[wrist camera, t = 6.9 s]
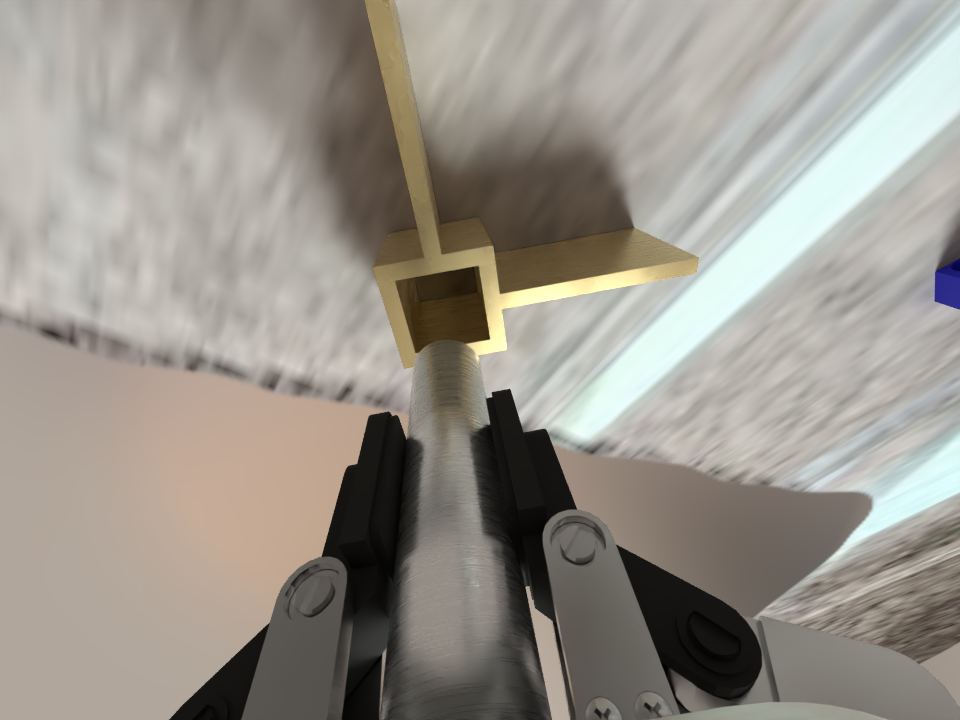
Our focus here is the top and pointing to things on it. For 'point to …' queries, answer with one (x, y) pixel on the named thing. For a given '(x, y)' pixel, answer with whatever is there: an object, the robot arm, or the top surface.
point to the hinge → (484, 242)
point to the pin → (457, 563)
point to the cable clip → (948, 285)
